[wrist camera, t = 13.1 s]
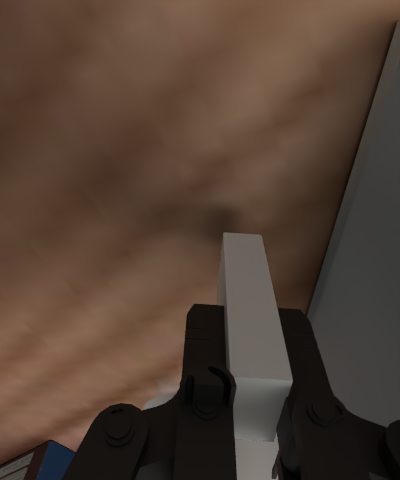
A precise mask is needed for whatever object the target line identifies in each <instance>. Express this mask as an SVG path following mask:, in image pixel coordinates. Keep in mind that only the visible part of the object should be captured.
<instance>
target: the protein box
mask: <svg viewBox="0 0 400 480" xmlns="http://www.w3.org/2000/svg"><path fill="white" fill-rule="evenodd" d="M74 455H75V452H73V451H71V450H70V449H68V448H66V447H64V446H62V445H60V444H58V443H57V442H55V441H49V442H46V443H45V444H43V445H40V446H39V447H37V448H35V449H33V450H31V451H29V452H27V453H25V454H23V455H21V456H19V457H18V458H16V459H14V460H12V461H10V462H8V463H6V464H4V465H2V466H0V480H61V479H62V477H63V475H64V473H65V472H66V470H67V468H68V466H69V464H70V463H71V461H72V459H73V457H74Z"/></svg>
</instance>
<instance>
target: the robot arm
mask: <svg viewBox="0 0 400 480" xmlns="http://www.w3.org/2000/svg"><path fill="white" fill-rule="evenodd" d="M217 293H218V305H207V304H194V305H193V306H192V308H191V309H190V311H189V312H188V314H187V320H186V332H185V344H184V356H183V368H182V379H181V382H180V388H179V390H178V392H177V393H176V395H175V396H174V397H173V398H172V399H171V400H169V401H168V402H166V403H165V404H162V405H160V406H157V407H154V408H150V409H146V410H142V411H141V410H140V409H139V408H137V407H135V406H133V405H132V404H123V403H120V404H116V405H112V406H109V407H108V408H106V409H105V410H103V411H102V412H100V413H99V415H98V416H97V417H96V418H95V420H94V421H93V422H92V424H91V426H90V428H89V430H88V431H87V433H86V435H85V437H84V439H83V441H82V442H81V444H80V446H79V448H78V450H77V452H76V453H75V455H74V457H73V459H72V461H71V463H70V464H69V466H68V468H67V470H66V472H65V473H64V475H63V477H62V479H61V480H237V475H236V474H237V473H236V455H235V439H237V440H253V441H271V442H273V441H274V439H275V435H276V432H277V437H278V443H279V451H278V454H277V457H276V460H275V464H274V466H273V469H272V479H276V477H277V474H278V479H279V480H400V420H396V421H394V422H392V423H390V424H389V426H388V427H384V426H382V425H379V424H376V423H374V422H371V421H368V420H365V419H363V418H360V417H358V416H356V415H354V414H353V413H351V412H350V411H348V410H347V409H346V408H345V406H344V404H343V403H342V402H341V401H340V400H339V399H338V398H337V397H336V396H334V394H333V391H332V389H331V386H330V383H329V380H328V376H327V373H326V370H325V367H324V364H323V360H322V357H321V354H320V351H319V348H318V344H317V341H316V338H315V337H314V332H313V328H312V325H311V322H310V321H309V319H308V318H307V317H306V316H305V314H304V313H303V312H302V311H301V310H298V309H283V308H277V304H276V300H275V295H274V290H273V286H272V281H271V277H270V272H269V267H268V263H267V258H266V253H265V249H264V244H263V240H262V235H256V234H241V233H226V232H223V240H222V249H221V258H220V267H219V276H218V285H217Z"/></svg>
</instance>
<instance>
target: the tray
mask: <svg viewBox="0 0 400 480" xmlns="http://www.w3.org/2000/svg"><path fill="white" fill-rule="evenodd" d="M307 318H308V319H309V321H310V322H311V325H312V328H313V332H314V337H315V338H316V341H317V344H318V348H319V351H320V354H321V357H322V360H323V364H324V367H325V370H326V373H327V376H328V380H329V383H330V386H331V389H332V391H333V394H334V396H336V397H337V398H338V399H339V400H340V401H341V402H342V403H343V404H344V406H345V408H346V409H347V410H348V411H350V412H351V413H353V414H354V415H356V416H358V417H360V418H363V419H365V420H368V421H371V422H374V423H376V424H379V425H382V426H384V427H388V426H389V424H390V423H392V422H394V421H396V420H400V21H398V22H397V25H396V29H395V32H394V35H393V38H392V42H391V45H390V48H389V51H388V55H387V58H386V61H385V64H384V68H383V71H382V74H381V77H380V80H379V84H378V87H377V90H376V93H375V97H374V100H373V103H372V106H371V110H370V113H369V116H368V119H367V123H366V126H365V129H364V132H363V136H362V139H361V142H360V145H359V149H358V152H357V155H356V158H355V162H354V165H353V168H352V171H351V174H350V178H349V181H348V184H347V187H346V191H345V194H344V197H343V200H342V204H341V207H340V210H339V213H338V217H337V220H336V223H335V226H334V230H333V233H332V236H331V239H330V243H329V246H328V249H327V252H326V256H325V259H324V262H323V265H322V269H321V272H320V275H319V278H318V281H317V285H316V288H315V291H314V294H313V298H312V301H311V304H310V307H309V311H308V314H307Z"/></svg>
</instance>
